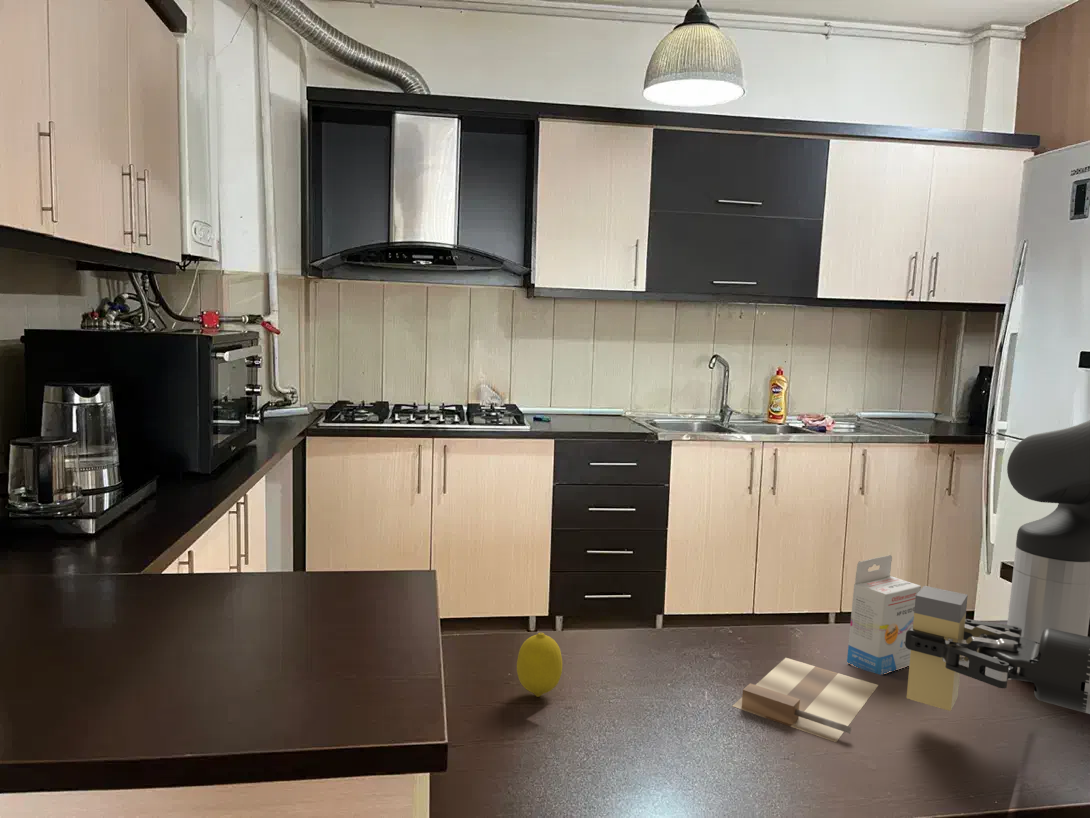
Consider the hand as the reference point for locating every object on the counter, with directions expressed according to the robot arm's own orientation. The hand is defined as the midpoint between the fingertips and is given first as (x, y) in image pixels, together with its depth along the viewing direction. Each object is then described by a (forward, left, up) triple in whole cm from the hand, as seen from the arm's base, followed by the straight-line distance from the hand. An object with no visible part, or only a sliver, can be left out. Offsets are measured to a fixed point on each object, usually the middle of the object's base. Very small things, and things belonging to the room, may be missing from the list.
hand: (912, 631), depth 88 cm
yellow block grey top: (0, +3, -7) cm, 8 cm away
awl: (+9, -11, -11) cm, 17 cm away
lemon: (+22, -37, -12) cm, 44 cm away
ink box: (-17, -7, -12) cm, 22 cm away
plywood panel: (+1, -11, -12) cm, 16 cm away
